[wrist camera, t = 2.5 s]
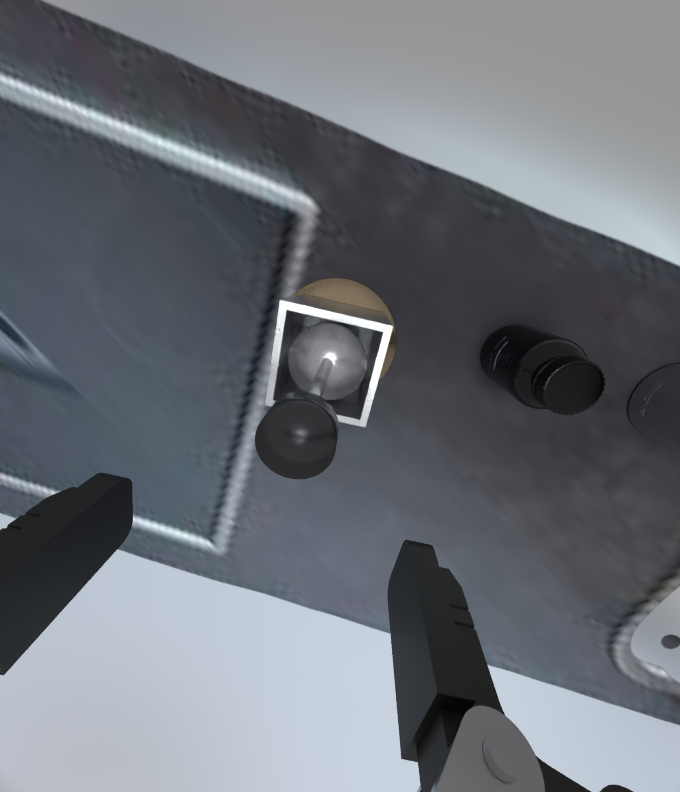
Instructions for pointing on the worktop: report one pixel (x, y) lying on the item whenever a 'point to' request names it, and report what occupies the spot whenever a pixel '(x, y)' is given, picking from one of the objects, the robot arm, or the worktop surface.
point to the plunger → (311, 402)
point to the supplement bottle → (542, 370)
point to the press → (345, 308)
